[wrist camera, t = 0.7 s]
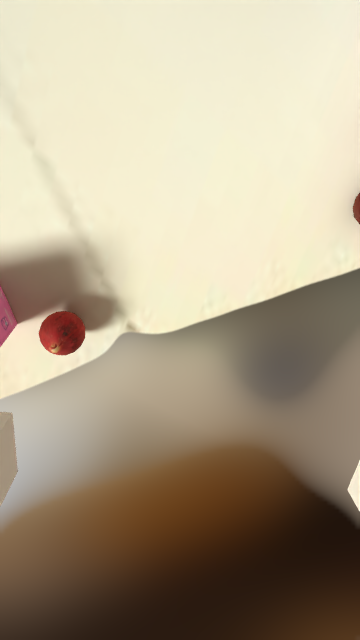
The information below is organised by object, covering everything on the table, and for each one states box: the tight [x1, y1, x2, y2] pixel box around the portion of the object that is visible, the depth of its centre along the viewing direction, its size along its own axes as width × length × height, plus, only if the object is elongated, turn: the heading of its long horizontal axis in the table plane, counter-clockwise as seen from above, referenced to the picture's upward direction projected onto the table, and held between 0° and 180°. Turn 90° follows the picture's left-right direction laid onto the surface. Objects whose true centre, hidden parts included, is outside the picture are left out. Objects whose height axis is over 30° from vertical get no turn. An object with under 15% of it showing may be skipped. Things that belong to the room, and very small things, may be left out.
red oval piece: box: [39, 311, 85, 355], centre depth 46 cm, size 6×6×8 cm
